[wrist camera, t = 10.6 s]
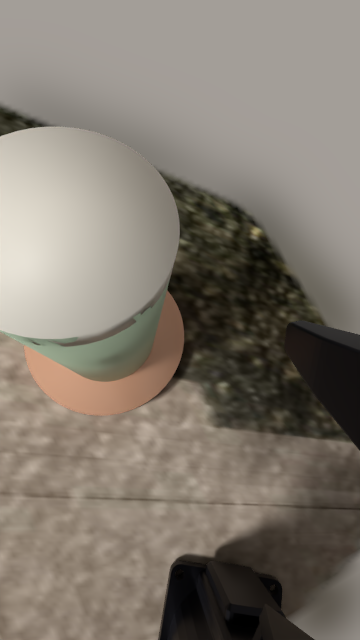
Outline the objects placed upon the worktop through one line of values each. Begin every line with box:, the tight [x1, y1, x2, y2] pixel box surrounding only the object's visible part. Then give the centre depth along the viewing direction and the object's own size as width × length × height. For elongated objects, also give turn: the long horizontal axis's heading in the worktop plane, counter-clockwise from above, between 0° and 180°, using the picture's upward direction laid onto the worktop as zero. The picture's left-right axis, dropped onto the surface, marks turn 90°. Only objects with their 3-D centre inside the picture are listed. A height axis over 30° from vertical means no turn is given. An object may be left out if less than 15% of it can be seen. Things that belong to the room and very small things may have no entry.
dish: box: [24, 291, 184, 415], centre depth 19 cm, size 10×10×1 cm
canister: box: [0, 127, 180, 382], centre depth 13 cm, size 6×6×12 cm
